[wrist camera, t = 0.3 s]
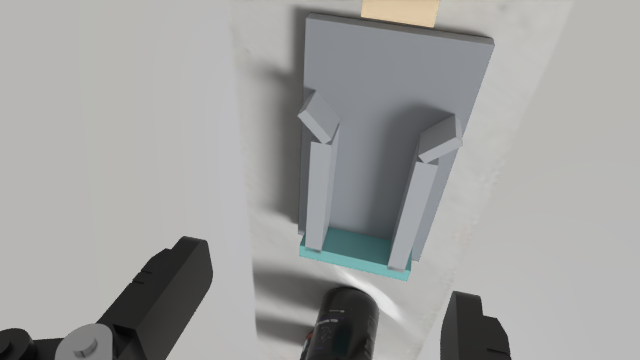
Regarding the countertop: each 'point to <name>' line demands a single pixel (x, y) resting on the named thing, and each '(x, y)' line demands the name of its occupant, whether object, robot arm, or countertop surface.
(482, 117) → the countertop surface
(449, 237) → the countertop surface
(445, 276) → the countertop surface
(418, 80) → the guide board
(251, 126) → the countertop surface
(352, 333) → the supplement bottle
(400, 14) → the beech block
